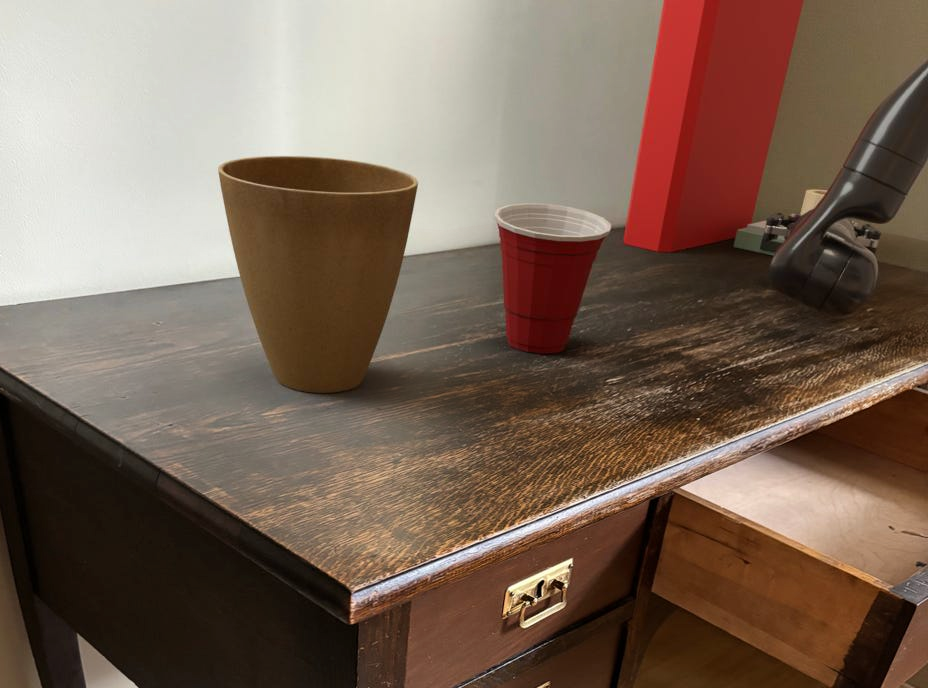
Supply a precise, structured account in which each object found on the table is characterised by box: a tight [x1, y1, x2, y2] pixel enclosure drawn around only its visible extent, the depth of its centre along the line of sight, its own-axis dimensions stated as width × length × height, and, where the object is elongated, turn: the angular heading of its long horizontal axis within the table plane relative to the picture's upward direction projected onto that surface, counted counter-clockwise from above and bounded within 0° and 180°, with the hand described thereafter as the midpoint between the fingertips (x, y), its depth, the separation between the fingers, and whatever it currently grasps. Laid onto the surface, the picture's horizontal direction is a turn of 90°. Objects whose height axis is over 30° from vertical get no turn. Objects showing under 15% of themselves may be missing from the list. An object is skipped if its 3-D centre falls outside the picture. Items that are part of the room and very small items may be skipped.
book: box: [622, 0, 805, 253], centre depth 140 cm, size 27×8×32 cm, turn 140°
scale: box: [732, 219, 785, 257], centre depth 146 cm, size 13×13×3 cm
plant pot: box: [217, 155, 419, 394], centre depth 77 cm, size 15×15×16 cm
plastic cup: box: [493, 202, 612, 354], centre depth 91 cm, size 11×11×12 cm
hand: (820, 223), depth 127 cm, fingers closed on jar, 5 cm apart
